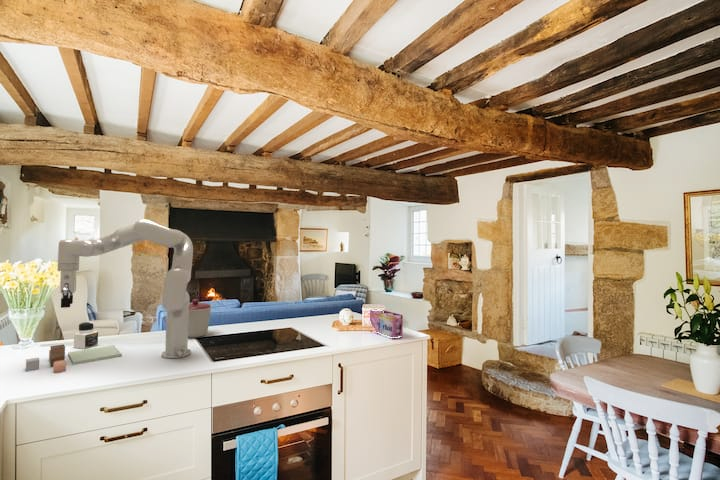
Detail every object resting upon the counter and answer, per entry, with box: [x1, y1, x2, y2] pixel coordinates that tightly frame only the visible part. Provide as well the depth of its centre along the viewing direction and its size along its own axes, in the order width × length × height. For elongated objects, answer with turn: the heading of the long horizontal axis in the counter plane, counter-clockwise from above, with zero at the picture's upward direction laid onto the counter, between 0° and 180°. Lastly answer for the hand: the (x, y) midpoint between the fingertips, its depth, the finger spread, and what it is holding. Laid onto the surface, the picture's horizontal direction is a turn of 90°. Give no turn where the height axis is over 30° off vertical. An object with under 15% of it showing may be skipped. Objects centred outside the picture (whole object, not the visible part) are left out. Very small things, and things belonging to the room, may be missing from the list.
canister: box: [188, 298, 213, 339], centre depth 211 cm, size 18×18×21 cm
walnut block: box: [49, 344, 66, 368], centre depth 159 cm, size 4×4×8 cm
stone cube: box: [25, 357, 40, 372], centre depth 153 cm, size 4×4×4 cm
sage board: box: [67, 345, 123, 365], centre depth 172 cm, size 18×18×1 cm
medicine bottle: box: [73, 321, 99, 350], centre depth 186 cm, size 7×7×12 cm
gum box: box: [369, 308, 404, 337], centre depth 222 cm, size 24×8×14 cm, turn 36°
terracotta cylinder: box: [52, 359, 67, 374], centre depth 151 cm, size 4×4×4 cm
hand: (66, 305), depth 164 cm, fingers open, 9 cm apart
